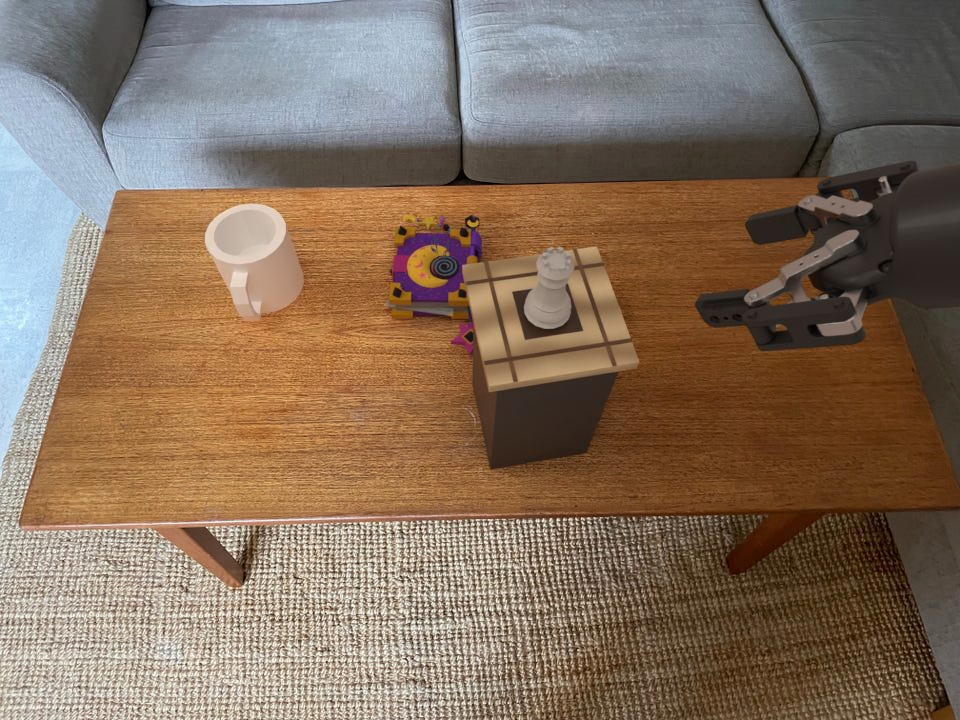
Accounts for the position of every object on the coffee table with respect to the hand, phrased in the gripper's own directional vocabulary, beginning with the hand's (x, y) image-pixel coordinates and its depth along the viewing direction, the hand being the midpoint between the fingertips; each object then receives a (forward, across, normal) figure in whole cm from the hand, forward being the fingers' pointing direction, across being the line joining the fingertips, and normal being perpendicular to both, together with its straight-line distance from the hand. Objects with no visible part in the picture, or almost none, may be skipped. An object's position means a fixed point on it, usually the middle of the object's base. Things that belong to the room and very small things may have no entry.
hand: (727, 269), depth 45 cm
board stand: (+36, 0, +18) cm, 41 cm away
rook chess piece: (+20, 0, +2) cm, 20 cm away
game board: (+21, 0, +3) cm, 21 cm away
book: (+51, -10, +3) cm, 52 cm away
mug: (+65, +4, -11) cm, 66 cm away
